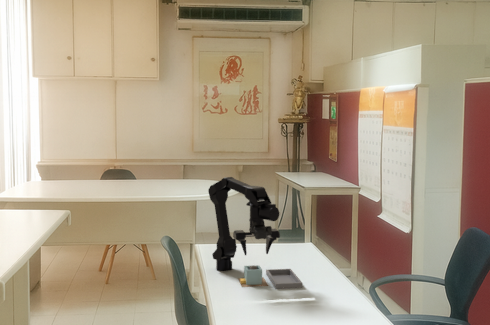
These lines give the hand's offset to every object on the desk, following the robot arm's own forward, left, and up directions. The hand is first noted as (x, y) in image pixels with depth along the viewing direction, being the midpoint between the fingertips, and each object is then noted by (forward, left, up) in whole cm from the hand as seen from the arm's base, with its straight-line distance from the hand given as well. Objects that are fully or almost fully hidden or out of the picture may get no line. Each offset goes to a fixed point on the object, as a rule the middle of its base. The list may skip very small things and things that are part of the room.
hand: (256, 254), depth 206 cm
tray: (+11, -1, -12) cm, 17 cm away
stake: (-2, -1, -12) cm, 12 cm away
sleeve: (-2, -1, -11) cm, 11 cm away
